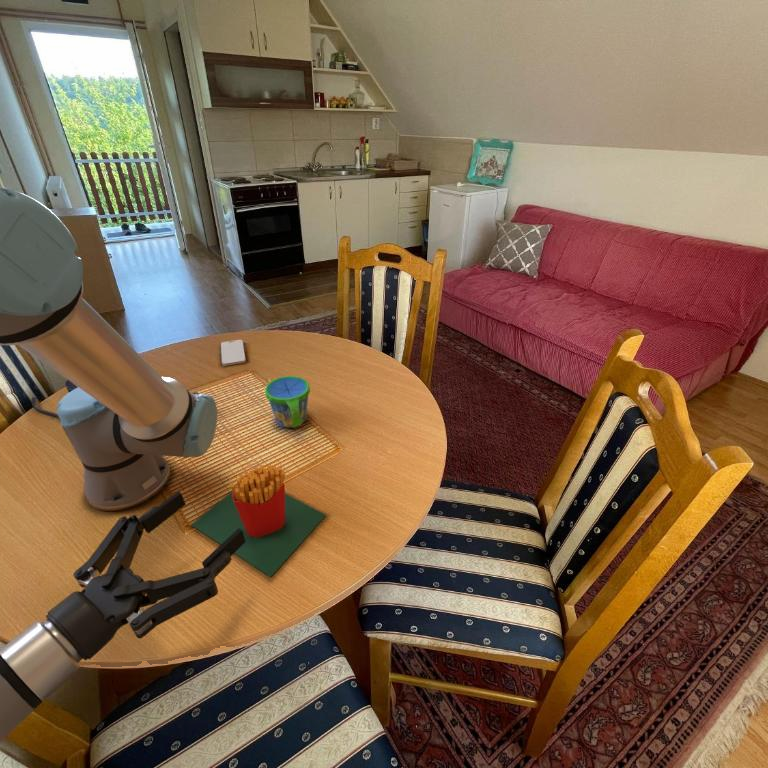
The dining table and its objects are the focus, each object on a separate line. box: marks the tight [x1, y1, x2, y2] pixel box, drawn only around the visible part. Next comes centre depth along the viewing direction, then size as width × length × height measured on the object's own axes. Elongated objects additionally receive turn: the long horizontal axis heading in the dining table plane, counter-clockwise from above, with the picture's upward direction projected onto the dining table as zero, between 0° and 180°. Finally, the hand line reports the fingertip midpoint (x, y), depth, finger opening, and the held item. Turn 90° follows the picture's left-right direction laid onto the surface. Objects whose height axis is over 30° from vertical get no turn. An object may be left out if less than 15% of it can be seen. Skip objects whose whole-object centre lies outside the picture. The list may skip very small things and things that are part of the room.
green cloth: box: [191, 490, 327, 578], centre depth 79 cm, size 20×15×1 cm
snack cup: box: [264, 375, 311, 429], centre depth 102 cm, size 16×10×10 cm
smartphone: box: [219, 339, 247, 367], centre depth 134 cm, size 7×1×15 cm
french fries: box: [229, 464, 286, 538], centre depth 74 cm, size 9×4×13 cm, turn 116°
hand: (211, 515), depth 64 cm, fingers open, 13 cm apart
